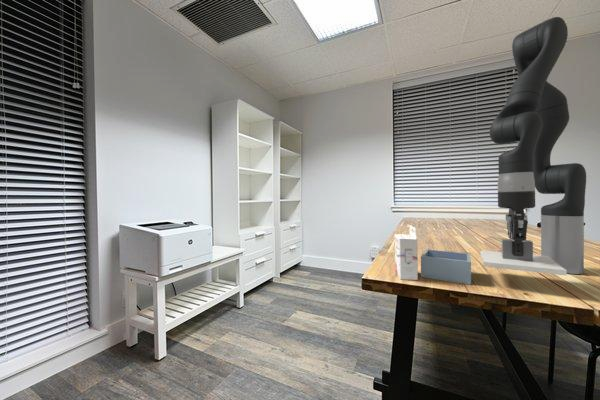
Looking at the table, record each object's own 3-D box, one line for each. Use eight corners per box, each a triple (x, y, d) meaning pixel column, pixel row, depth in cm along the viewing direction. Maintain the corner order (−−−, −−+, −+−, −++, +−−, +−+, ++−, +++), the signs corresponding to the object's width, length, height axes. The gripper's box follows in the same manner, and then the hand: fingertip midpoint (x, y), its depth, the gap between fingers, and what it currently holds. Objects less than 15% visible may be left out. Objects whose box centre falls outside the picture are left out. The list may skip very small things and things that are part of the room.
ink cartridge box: (394, 271, 77) (393, 224, 77) (410, 271, 76) (410, 224, 76) (399, 279, 69) (399, 227, 69) (418, 280, 68) (418, 227, 68)
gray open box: (426, 267, 81) (426, 249, 81) (470, 273, 75) (470, 253, 75) (420, 276, 71) (420, 256, 71) (471, 284, 65) (470, 262, 65)
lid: (480, 254, 76) (480, 234, 76) (547, 260, 68) (547, 238, 68) (483, 266, 64) (483, 242, 64) (566, 275, 55) (566, 248, 55)
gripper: (542, 189, 58) (543, 262, 58) (528, 189, 69) (529, 250, 70) (501, 190, 62) (502, 258, 62) (495, 190, 73) (495, 248, 74)
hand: (516, 254), depth 66 cm, fingers closed on lid, 2 cm apart
